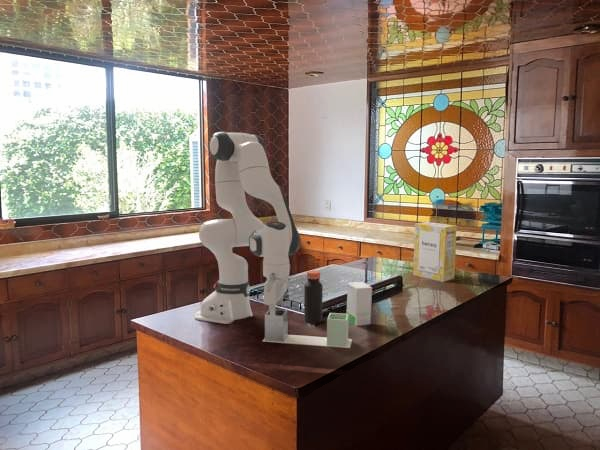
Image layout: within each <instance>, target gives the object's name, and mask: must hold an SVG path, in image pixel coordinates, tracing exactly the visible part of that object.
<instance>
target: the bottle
mask: <svg viewBox="0 0 600 450" xmlns="http://www.w3.org/2000/svg"><path fill="white" fill-rule="evenodd" d="M306 279H307V281H306V283H305V284H304V289H303V290H304V295H303V296H304V304H303V305H304V309H303V310H304V311H303V312H304V313H303V314H304V316H303V318H304V320H303V321H304V322H305V323H307V324H320V323H322V322H323V288H324V287H323V284H322V283H321V281H320V280H321V271H319V270H308V271H307V272H306Z"/></svg>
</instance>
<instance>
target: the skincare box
mask: <svg viewBox="0 0 600 450" xmlns="http://www.w3.org/2000/svg"><path fill="white" fill-rule="evenodd" d="M346 290H347V291H346V292H347V294H346V295H347V296H346V297H347V298H346V313H345V314H348V324H352V325H354V326H355V327H357V326H366V325H367V326H368V325H371V314H372V300H373V299H372V296H373V287H372V286H370V285H369V284H368V283H365V282H363V281H353V282H352V281H351V282H347V289H346Z"/></svg>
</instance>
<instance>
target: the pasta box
mask: <svg viewBox="0 0 600 450" xmlns="http://www.w3.org/2000/svg"><path fill="white" fill-rule="evenodd" d="M457 226H458V225H456V224H455V225H454V224H449V223H448V224H446V223H438V222H429V221H424V222H418V223H417V222H416V223H414V246H413V247H414V249H413V270H412V271H413V274H412V275H413V276H415V277H420V278H424V279H429V280H434V281H437V282H442V283H443V282H447V281H451V280H454V279H455V275H456V274H455V273H456V271H455V270H456V253H457V252H456V251H457V232H458V231H457V230H458V229H457V228H458V227H457Z"/></svg>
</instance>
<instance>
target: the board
mask: <svg viewBox="0 0 600 450" xmlns="http://www.w3.org/2000/svg"><path fill="white" fill-rule="evenodd" d="M352 341H353V339H352V338H348V342H347V346H346V347H341V346H328V345H327V336H324V337H323V336H315V335H314V336H311V335H298V334H297V335H296V334H288V335H287V337H286V339H285V341H284V342H275V341H265V337H264V338H263V339H262V342H266V343H267V342H268V343H279V344H290V345H291V344H293V345H305V346H317V347H318V346H320V347H331V348H332V347H333V348H345V349H350V348H351V345H352Z"/></svg>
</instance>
